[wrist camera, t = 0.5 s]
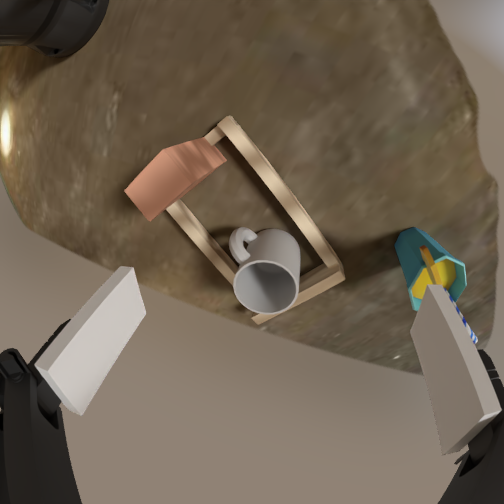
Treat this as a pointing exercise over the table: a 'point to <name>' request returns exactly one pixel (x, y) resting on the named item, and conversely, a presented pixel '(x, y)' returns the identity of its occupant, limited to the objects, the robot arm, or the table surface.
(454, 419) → the robot arm
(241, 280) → the cup
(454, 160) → the table surface
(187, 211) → the frame
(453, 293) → the cup
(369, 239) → the table surface
